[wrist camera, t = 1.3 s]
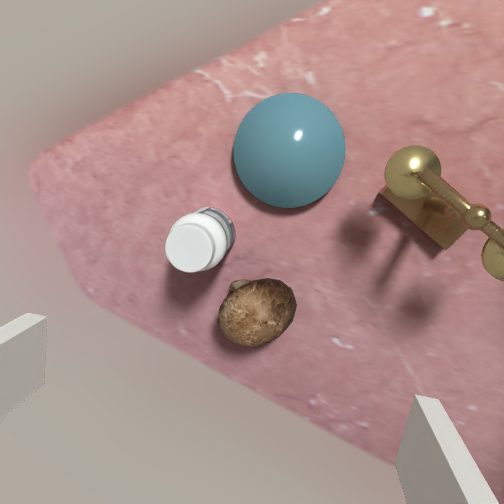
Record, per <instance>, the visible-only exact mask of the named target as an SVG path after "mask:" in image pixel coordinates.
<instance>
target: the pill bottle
mask: <svg viewBox="0 0 504 504" xmlns="http://www.w3.org/2000/svg"><path fill="white" fill-rule="evenodd" d="M235 238H236V228H235V224H234V222H233V220H232V218H231V217H230V216H229V214H227V213H226V212H225V211H223V210H222V209H219V208H216V207H204V208H201V209H199V210H196V211H194V212H192V213H190V214H188V215H185V216H183V217H181V218H180V219H179V220H177V221H176V222H175V223H174V225H173V226H172V228H171V230H170V233H169V236H168V238H167V240H166V244H165V251H166V255H167V257H168V260H169V261H170V262H171V264H172V265H173V266H174V267H176V268H177V269H179V270H181V271H184V272H197V271H204V270H208V269H210V268H212V267H214V266H215V265H217V264H218V263H219V262H220V261H221V260H222V259H223V257H224V256H225V255H226V254H227V252H228V251H229V250H230V249H231V247H232V246H233V244H234V242H235Z"/></svg>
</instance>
